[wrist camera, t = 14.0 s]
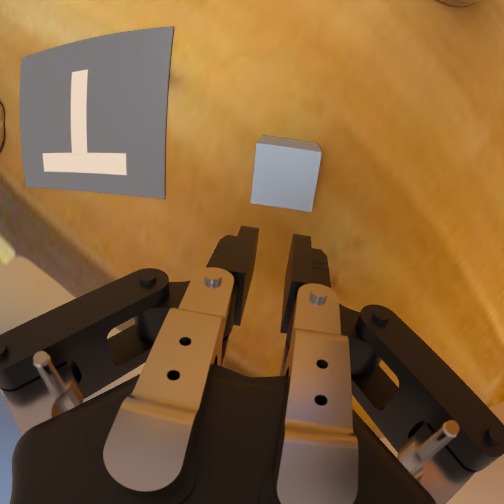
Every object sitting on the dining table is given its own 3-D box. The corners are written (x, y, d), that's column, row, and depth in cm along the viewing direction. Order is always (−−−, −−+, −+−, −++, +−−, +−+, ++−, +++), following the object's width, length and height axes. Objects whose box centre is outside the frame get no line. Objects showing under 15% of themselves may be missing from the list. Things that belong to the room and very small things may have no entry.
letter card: (22, 58, 24) (21, 58, 24) (174, 26, 22) (173, 26, 22) (26, 186, 33) (25, 187, 32) (165, 198, 31) (164, 199, 31)
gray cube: (263, 135, 27) (256, 143, 22) (317, 143, 26) (321, 152, 22) (257, 185, 29) (250, 203, 25) (309, 193, 29) (311, 212, 25)
